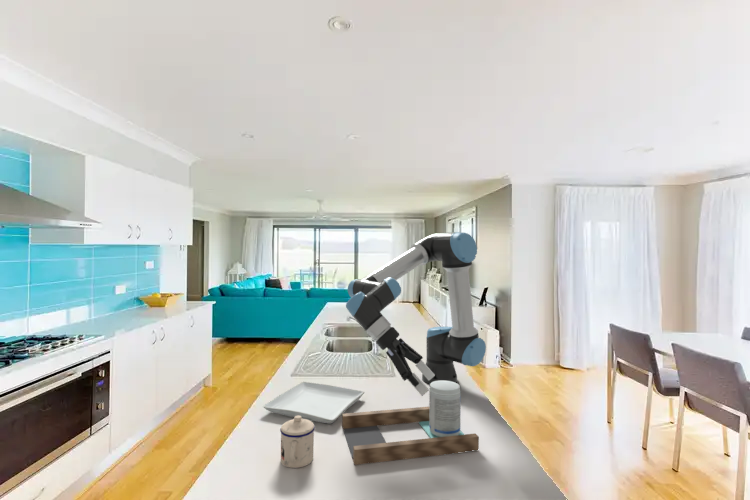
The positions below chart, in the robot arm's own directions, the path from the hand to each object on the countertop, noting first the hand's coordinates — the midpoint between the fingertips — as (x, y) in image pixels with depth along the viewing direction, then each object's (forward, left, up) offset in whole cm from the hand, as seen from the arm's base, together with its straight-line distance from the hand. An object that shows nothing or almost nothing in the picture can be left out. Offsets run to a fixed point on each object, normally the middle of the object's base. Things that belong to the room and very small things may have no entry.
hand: (429, 385), depth 120 cm
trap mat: (+20, +2, -15) cm, 25 cm away
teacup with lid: (+41, +9, -15) cm, 44 cm away
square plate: (+33, -26, -15) cm, 45 cm away
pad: (-5, +2, -15) cm, 16 cm away
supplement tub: (-5, +2, -15) cm, 15 cm away
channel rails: (+8, +2, -15) cm, 17 cm away
